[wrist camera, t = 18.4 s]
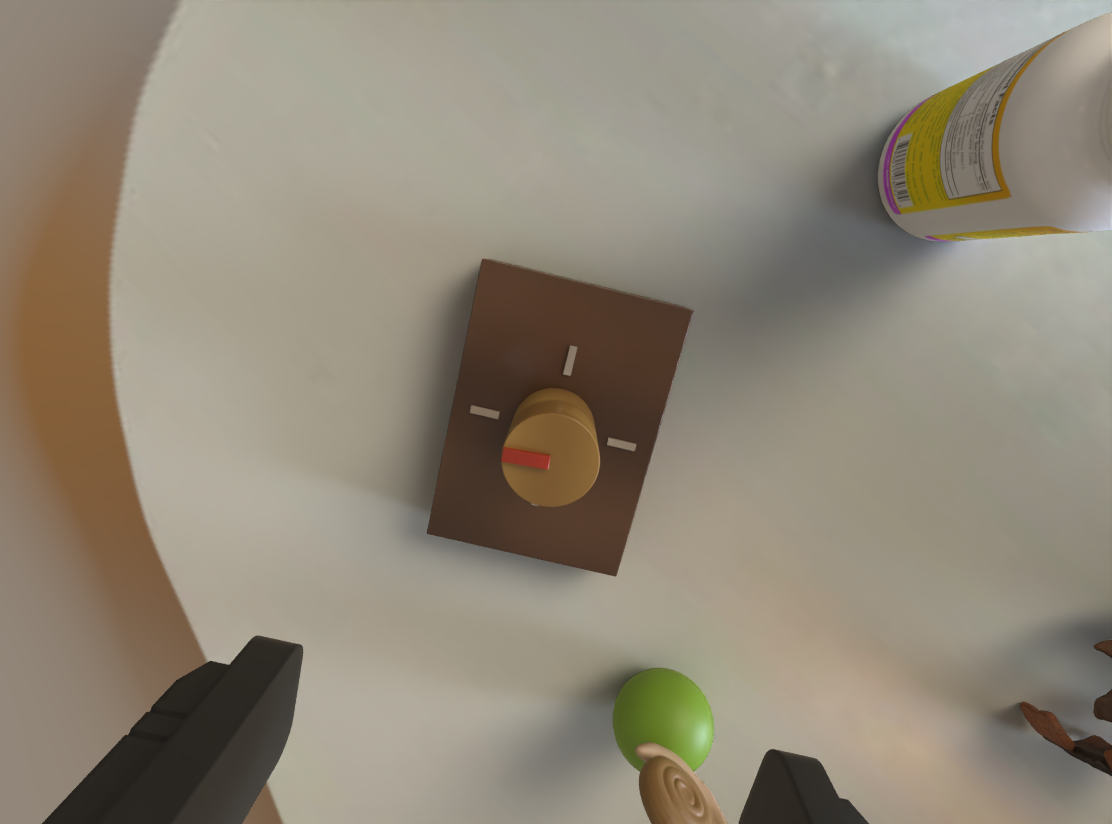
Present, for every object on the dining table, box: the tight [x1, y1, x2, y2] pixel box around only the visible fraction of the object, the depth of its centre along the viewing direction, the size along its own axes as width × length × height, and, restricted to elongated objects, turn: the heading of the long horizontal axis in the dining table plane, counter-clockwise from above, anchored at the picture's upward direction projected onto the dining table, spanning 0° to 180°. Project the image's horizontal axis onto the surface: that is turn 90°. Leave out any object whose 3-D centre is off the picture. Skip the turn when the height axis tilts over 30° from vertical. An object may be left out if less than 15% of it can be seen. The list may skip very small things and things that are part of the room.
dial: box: [501, 388, 600, 507], centre depth 26 cm, size 4×4×5 cm
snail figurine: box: [613, 668, 727, 824], centre depth 30 cm, size 5×6×12 cm
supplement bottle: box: [878, 12, 1112, 241], centre depth 22 cm, size 7×7×13 cm
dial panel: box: [427, 259, 694, 576], centre depth 30 cm, size 14×10×3 cm
